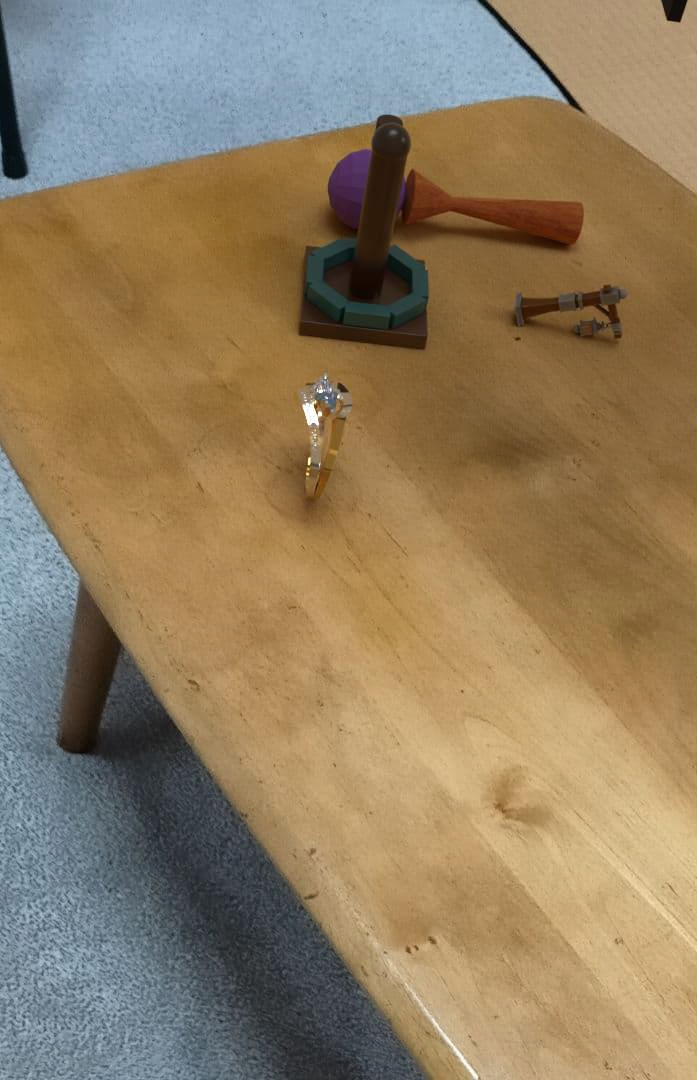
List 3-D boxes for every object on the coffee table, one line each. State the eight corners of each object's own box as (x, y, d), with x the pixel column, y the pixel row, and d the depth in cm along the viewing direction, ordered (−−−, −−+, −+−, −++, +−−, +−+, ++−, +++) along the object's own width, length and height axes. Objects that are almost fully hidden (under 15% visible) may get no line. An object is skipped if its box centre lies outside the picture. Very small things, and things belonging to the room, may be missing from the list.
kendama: (594, 224, 94) (337, 183, 90) (565, 277, 99) (321, 240, 95) (585, 168, 97) (336, 126, 93) (558, 222, 102) (321, 185, 98)
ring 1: (291, 441, 80) (305, 345, 74) (340, 448, 80) (358, 354, 74) (280, 520, 75) (293, 425, 69) (332, 528, 75) (350, 433, 70)
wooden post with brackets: (633, 342, 90) (625, 290, 87) (524, 353, 93) (513, 304, 90) (634, 327, 91) (626, 276, 88) (526, 339, 94) (516, 289, 91)
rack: (422, 273, 94) (460, 99, 83) (424, 349, 88) (465, 173, 77) (304, 258, 93) (327, 81, 83) (298, 334, 87) (322, 154, 77)
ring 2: (427, 334, 87) (459, 197, 79) (302, 320, 86) (321, 179, 78) (423, 257, 93) (453, 122, 85) (307, 243, 92) (325, 105, 84)
